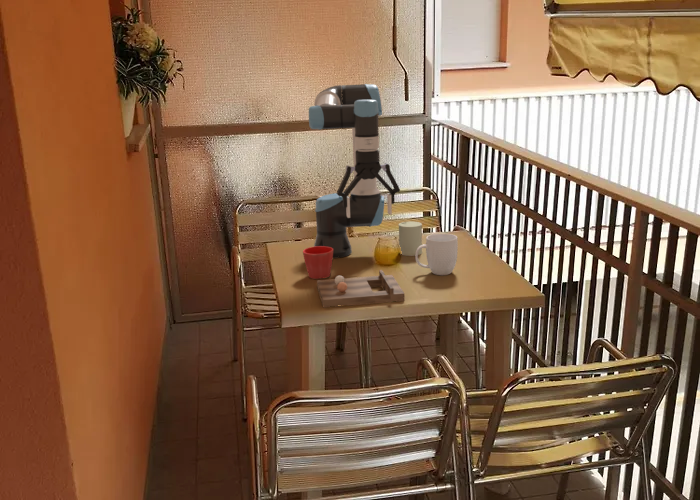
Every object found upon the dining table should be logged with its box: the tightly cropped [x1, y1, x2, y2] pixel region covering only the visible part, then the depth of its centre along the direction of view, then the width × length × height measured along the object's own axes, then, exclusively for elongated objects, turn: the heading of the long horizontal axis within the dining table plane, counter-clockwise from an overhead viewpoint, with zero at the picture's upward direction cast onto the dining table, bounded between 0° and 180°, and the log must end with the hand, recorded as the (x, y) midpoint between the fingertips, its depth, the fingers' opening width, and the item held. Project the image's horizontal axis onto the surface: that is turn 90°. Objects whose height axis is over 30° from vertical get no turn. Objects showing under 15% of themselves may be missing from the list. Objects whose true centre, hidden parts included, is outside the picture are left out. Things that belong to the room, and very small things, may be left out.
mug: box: [414, 232, 459, 276], centre depth 256 cm, size 15×11×13 cm
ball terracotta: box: [337, 282, 347, 292], centre depth 233 cm, size 3×3×3 cm
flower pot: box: [302, 246, 334, 280], centre depth 258 cm, size 11×11×10 cm
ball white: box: [334, 275, 345, 285], centre depth 240 cm, size 3×3×3 cm
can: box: [398, 220, 423, 257], centre depth 282 cm, size 9×9×12 cm
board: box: [316, 269, 406, 308], centre depth 238 cm, size 20×26×4 cm
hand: (369, 215), depth 234 cm, fingers open, 13 cm apart
